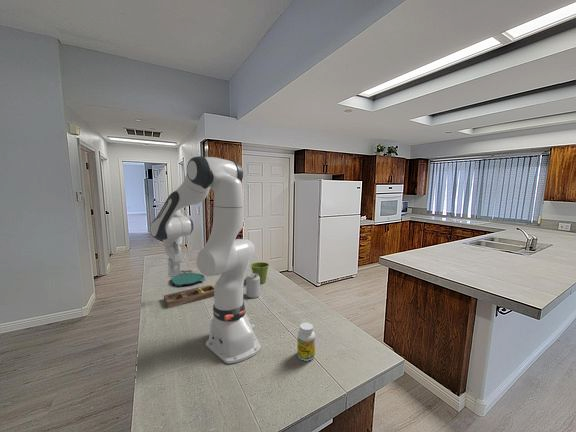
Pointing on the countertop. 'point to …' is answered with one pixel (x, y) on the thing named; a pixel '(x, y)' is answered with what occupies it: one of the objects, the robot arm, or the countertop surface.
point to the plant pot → (260, 270)
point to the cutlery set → (187, 278)
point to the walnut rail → (186, 298)
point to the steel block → (171, 270)
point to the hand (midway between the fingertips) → (174, 267)
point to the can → (253, 285)
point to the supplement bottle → (306, 342)
